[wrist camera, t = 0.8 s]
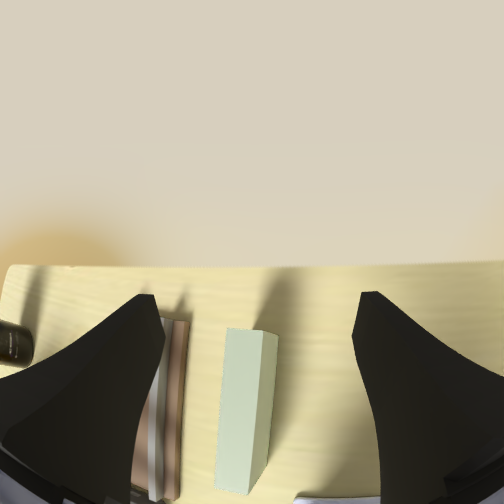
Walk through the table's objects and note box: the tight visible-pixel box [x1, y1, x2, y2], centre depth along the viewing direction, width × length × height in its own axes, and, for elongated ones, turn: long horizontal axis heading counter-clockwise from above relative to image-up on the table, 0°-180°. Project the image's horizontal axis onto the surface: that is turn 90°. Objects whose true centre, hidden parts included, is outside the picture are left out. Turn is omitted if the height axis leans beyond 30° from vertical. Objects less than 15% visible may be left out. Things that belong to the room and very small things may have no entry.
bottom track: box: [131, 317, 190, 502], centre depth 21 cm, size 19×8×2 cm, turn 176°
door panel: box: [214, 328, 279, 495], centre depth 18 cm, size 12×2×6 cm, turn 176°
